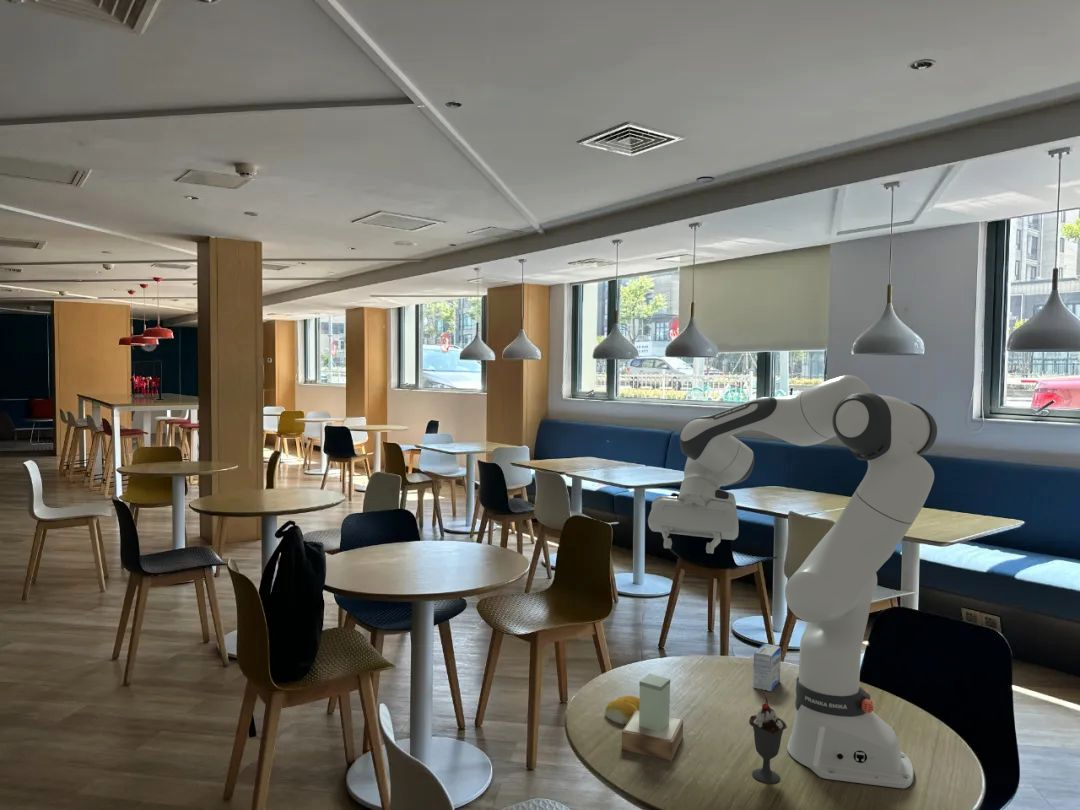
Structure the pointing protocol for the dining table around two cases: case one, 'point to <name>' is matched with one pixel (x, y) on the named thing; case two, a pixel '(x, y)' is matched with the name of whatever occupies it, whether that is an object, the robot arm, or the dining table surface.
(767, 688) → the medicine box
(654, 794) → the dining table surface
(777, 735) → the sundae
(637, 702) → the bread roll
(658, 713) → the green pillar block
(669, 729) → the wooden square block
